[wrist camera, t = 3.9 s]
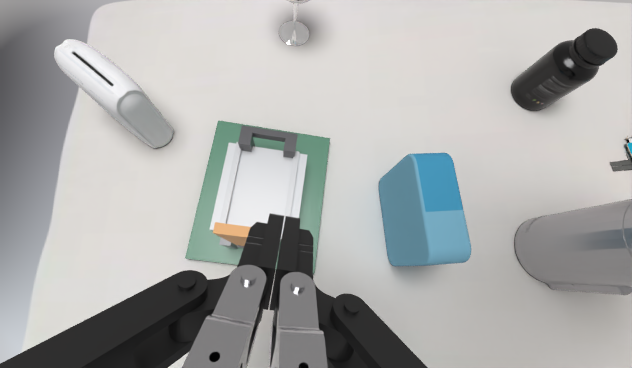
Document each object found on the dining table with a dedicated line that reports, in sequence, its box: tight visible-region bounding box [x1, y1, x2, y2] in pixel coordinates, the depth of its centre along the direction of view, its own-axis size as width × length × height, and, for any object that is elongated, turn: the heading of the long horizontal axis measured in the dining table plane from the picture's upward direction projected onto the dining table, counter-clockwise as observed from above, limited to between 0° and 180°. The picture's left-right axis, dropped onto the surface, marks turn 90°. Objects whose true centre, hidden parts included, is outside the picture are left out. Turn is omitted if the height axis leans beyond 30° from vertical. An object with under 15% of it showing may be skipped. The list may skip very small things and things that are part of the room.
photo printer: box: [54, 39, 174, 148], centre depth 35 cm, size 10×4×12 cm, turn 51°
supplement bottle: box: [512, 28, 618, 110], centre depth 45 cm, size 7×7×12 cm
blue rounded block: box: [379, 153, 471, 266], centre depth 36 cm, size 12×4×12 cm, turn 4°
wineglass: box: [279, 0, 310, 46], centre depth 43 cm, size 7×7×12 cm
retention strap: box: [213, 222, 251, 248], centre depth 28 cm, size 1×3×13 cm, turn 83°
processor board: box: [185, 121, 330, 274], centre depth 37 cm, size 19×16×7 cm
